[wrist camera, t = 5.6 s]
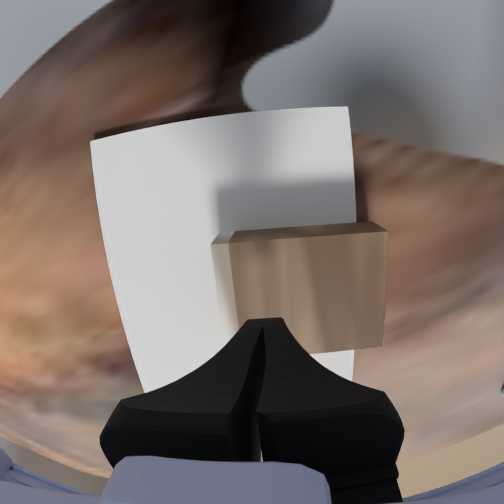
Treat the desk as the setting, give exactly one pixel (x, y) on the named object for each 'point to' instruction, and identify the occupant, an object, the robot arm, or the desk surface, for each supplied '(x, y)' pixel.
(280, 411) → the robot arm
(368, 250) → the brown wooden block
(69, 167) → the desk surface
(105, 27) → the desk surface
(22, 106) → the desk surface
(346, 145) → the mat
